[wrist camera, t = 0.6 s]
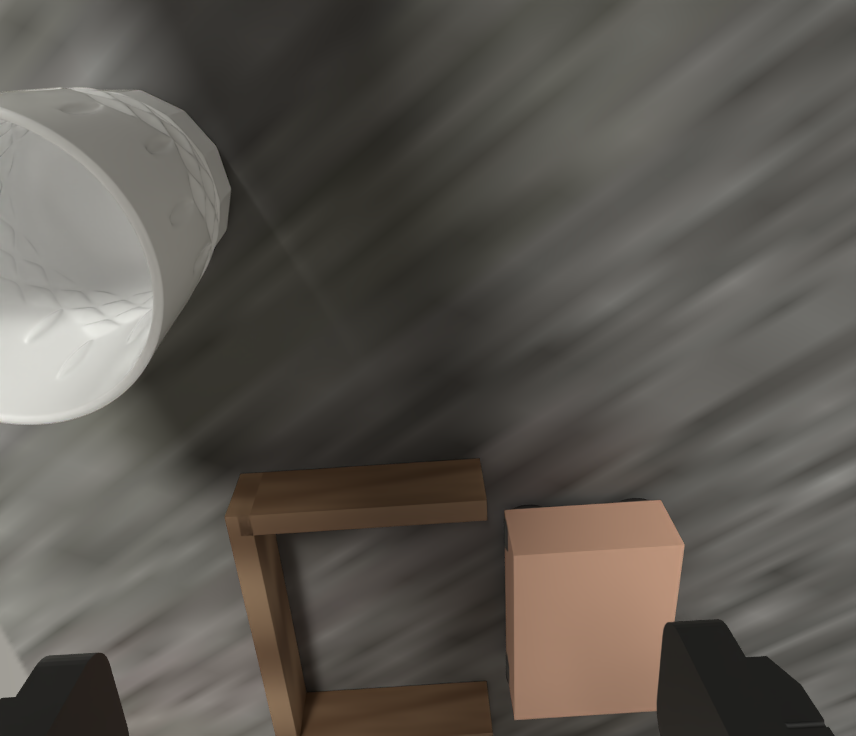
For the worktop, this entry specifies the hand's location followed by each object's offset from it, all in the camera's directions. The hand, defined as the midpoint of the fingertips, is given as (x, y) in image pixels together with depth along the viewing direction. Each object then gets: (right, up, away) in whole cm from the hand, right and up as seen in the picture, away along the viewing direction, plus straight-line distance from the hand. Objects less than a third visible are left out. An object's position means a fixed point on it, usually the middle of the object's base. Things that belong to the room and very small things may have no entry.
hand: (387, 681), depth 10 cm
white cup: (-10, +11, +15) cm, 21 cm away
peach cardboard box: (+8, -6, +24) cm, 26 cm away
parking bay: (-2, -6, +24) cm, 25 cm away
